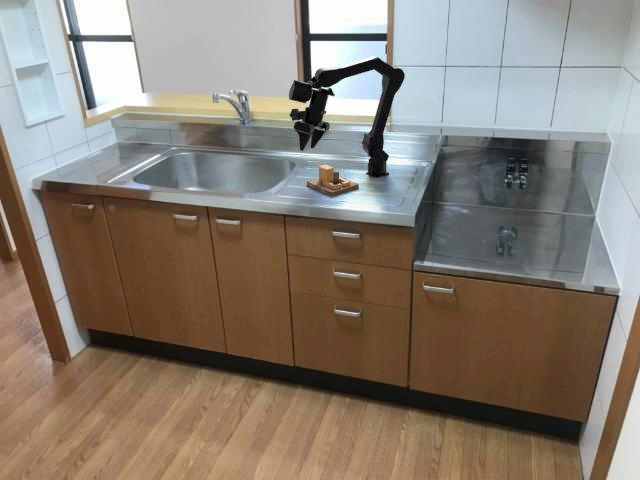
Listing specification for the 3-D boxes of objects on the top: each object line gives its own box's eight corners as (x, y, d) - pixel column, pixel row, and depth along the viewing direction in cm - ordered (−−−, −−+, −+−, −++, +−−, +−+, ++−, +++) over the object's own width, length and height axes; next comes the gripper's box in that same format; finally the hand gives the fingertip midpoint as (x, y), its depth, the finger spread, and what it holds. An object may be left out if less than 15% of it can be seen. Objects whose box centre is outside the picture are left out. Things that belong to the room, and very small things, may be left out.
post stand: (358, 188, 183) (358, 171, 180) (331, 196, 177) (330, 179, 174) (333, 177, 194) (332, 162, 191) (306, 185, 188) (306, 169, 185)
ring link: (350, 184, 182) (350, 171, 180) (334, 189, 178) (334, 175, 176) (330, 176, 191) (329, 163, 189) (314, 180, 187) (314, 167, 185)
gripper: (307, 99, 190) (298, 140, 195) (285, 99, 173) (275, 144, 179) (335, 107, 186) (324, 149, 192) (314, 109, 170) (303, 154, 175)
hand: (306, 149), depth 185 cm, fingers open, 9 cm apart
